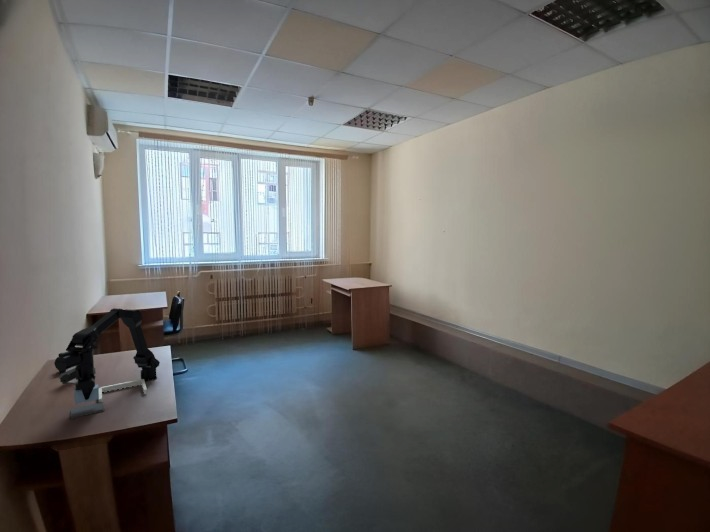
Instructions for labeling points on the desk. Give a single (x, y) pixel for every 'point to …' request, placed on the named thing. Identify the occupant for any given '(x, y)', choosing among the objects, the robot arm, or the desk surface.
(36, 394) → the desk surface
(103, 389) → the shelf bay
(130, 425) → the desk surface
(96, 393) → the blank block
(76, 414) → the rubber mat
